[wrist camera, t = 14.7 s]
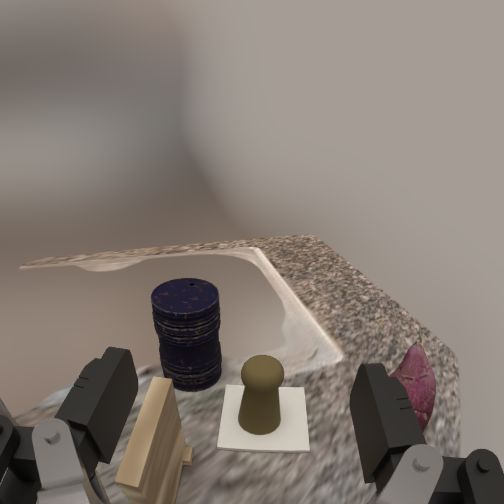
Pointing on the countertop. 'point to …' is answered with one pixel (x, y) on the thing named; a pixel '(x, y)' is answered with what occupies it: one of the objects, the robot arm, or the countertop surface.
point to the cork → (261, 395)
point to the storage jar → (188, 332)
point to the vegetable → (418, 382)
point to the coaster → (279, 441)
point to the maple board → (155, 449)
